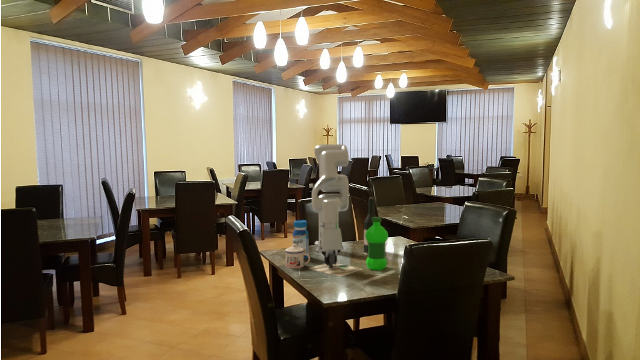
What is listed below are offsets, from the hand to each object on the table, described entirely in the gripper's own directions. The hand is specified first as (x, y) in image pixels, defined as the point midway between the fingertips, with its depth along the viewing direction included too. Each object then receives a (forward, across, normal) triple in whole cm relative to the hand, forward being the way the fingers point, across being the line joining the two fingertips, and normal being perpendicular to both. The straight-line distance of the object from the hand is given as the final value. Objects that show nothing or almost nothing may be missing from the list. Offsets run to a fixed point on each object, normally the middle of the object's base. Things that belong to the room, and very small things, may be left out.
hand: (330, 263), depth 216 cm
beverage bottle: (+3, -6, +25) cm, 26 cm away
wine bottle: (+3, +35, +26) cm, 44 cm away
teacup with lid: (+3, -13, +9) cm, 16 cm away
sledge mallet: (+2, +4, 0) cm, 4 cm away
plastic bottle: (+3, +20, -9) cm, 22 cm away
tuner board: (+3, +1, -3) cm, 4 cm away
